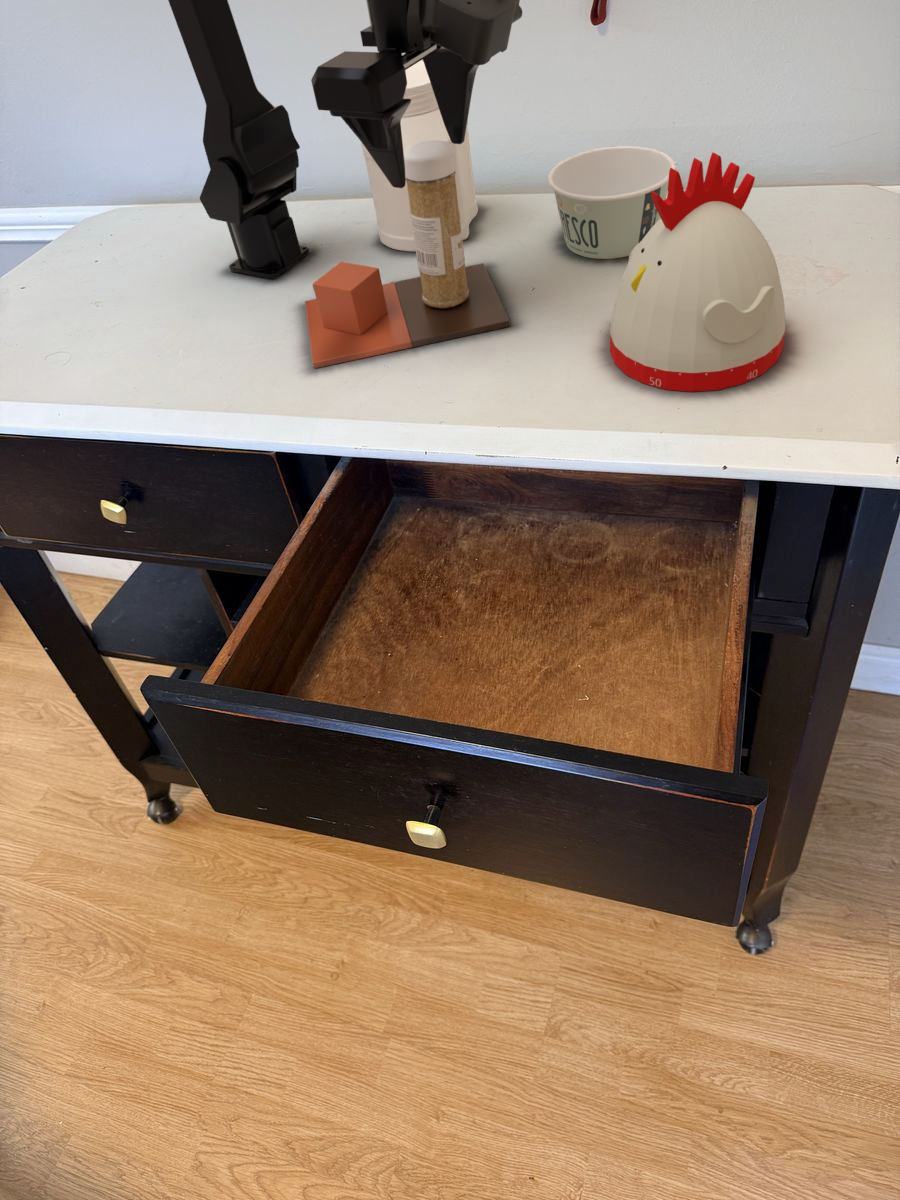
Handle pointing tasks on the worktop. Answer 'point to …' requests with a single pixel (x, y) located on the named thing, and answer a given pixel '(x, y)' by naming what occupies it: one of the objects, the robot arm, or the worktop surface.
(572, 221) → the food container
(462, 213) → the jar
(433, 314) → the board
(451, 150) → the sprinkles bottle
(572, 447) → the worktop surface
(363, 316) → the terracotta block
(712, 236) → the kitchen timer
